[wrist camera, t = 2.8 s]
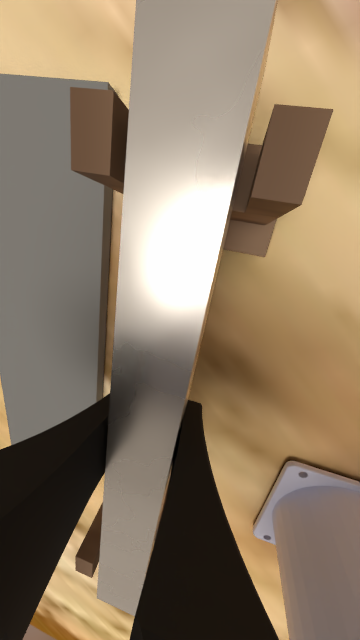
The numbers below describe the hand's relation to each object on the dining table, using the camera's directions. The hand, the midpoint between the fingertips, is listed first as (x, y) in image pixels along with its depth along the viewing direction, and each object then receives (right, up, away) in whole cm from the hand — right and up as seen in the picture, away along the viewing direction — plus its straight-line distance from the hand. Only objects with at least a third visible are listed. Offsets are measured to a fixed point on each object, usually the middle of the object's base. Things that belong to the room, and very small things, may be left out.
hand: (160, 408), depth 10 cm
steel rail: (0, 0, 0) cm, 0 cm away
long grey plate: (-8, +3, +5) cm, 10 cm away
